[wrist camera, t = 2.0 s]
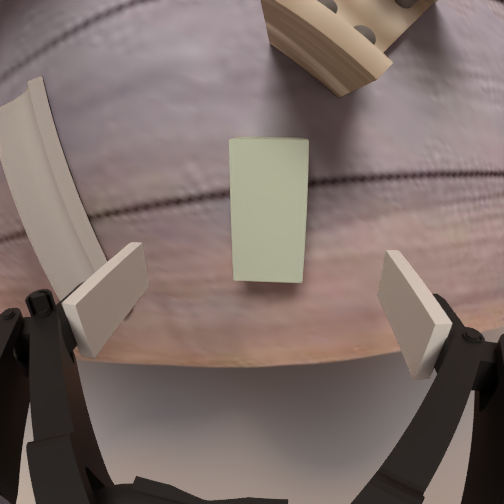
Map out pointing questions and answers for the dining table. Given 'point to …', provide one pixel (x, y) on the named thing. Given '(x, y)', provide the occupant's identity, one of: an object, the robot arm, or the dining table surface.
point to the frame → (340, 36)
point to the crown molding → (46, 191)
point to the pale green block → (268, 207)
